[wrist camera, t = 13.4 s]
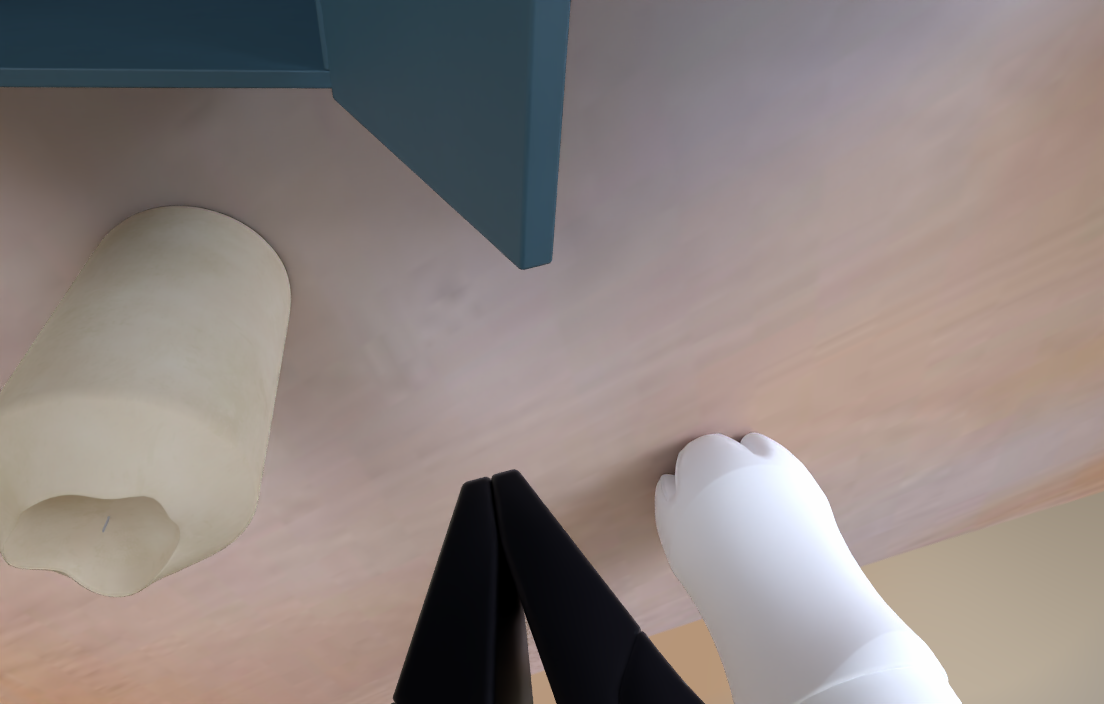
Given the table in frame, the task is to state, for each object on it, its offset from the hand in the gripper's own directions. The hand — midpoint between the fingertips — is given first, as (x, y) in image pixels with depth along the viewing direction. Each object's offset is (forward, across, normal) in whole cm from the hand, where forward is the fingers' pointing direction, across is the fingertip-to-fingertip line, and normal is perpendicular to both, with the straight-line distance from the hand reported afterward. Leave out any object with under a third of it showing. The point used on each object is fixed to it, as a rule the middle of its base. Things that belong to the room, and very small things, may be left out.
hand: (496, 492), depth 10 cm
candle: (+13, +8, +2) cm, 16 cm away
